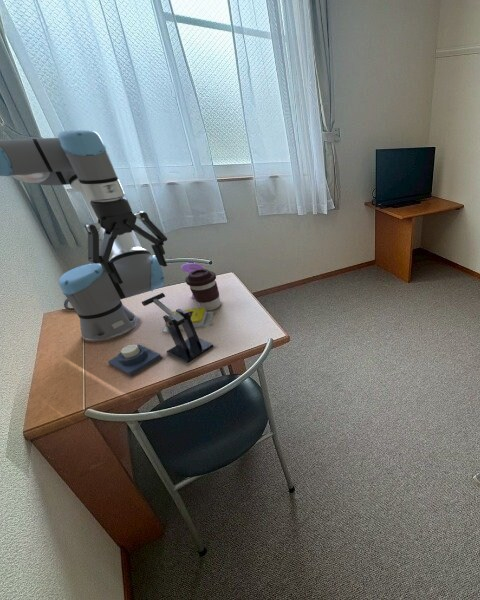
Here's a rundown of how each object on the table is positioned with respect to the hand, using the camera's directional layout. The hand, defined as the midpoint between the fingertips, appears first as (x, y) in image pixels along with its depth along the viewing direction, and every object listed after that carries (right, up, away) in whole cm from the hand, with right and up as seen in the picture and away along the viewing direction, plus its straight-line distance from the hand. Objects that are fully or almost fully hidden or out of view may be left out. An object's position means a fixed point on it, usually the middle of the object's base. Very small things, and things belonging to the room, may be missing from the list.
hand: (142, 273), depth 93 cm
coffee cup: (0, -11, +33) cm, 35 cm away
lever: (+4, -12, +5) cm, 13 cm away
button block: (-6, -27, +6) cm, 29 cm away
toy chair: (-8, -5, +42) cm, 43 cm away
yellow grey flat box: (-2, -16, +24) cm, 29 cm away
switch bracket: (+8, -25, +11) cm, 28 cm away
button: (-6, -24, +4) cm, 25 cm away
